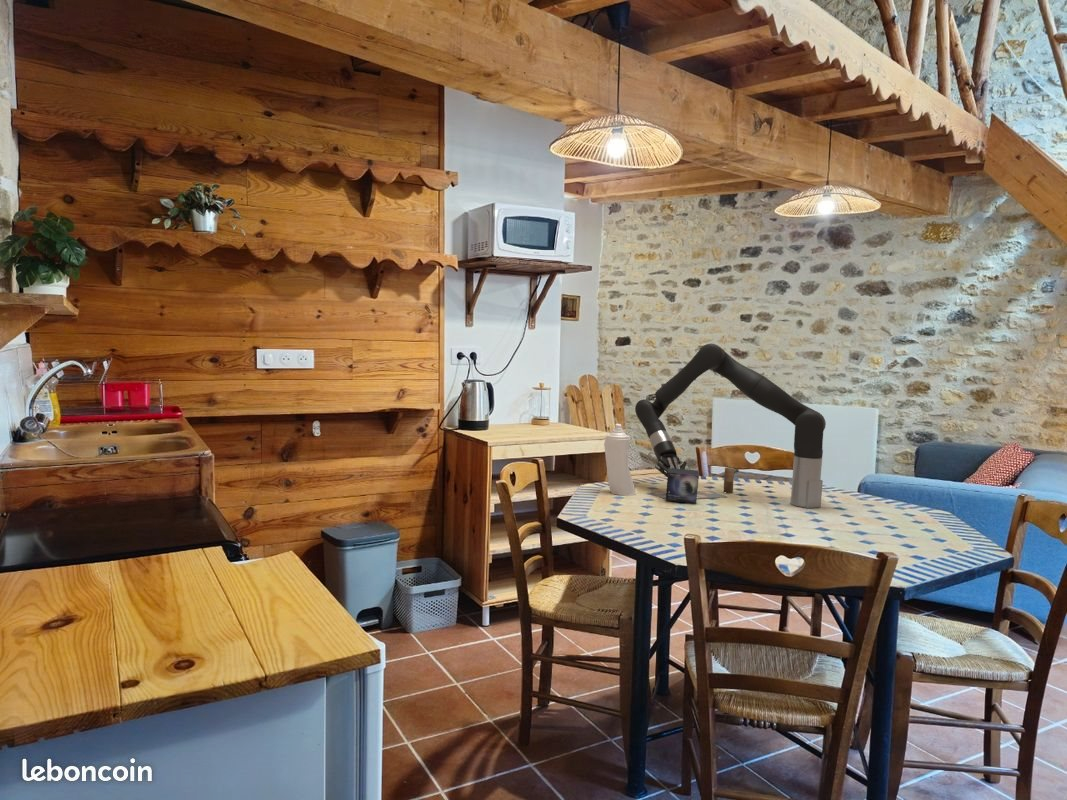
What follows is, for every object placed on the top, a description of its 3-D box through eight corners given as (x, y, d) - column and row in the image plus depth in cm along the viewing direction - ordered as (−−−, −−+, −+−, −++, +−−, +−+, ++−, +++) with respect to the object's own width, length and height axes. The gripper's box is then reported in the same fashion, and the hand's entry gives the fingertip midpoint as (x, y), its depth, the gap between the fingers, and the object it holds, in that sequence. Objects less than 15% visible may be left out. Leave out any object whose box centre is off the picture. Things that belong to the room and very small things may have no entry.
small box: (665, 501, 242) (667, 471, 240) (665, 495, 248) (667, 467, 247) (696, 504, 240) (699, 474, 238) (695, 498, 246) (698, 470, 245)
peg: (734, 493, 261) (736, 469, 260) (727, 493, 260) (728, 469, 259) (728, 491, 264) (730, 467, 264) (721, 491, 263) (723, 468, 262)
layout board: (727, 497, 253) (727, 496, 253) (669, 500, 243) (669, 500, 243) (710, 491, 262) (710, 490, 262) (653, 494, 253) (653, 493, 253)
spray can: (613, 496, 246) (617, 426, 244) (597, 490, 256) (600, 422, 254) (640, 494, 252) (644, 425, 250) (623, 488, 261) (627, 422, 259)
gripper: (651, 440, 252) (668, 480, 242) (682, 439, 257) (700, 478, 247) (642, 452, 258) (659, 492, 248) (673, 451, 263) (690, 490, 253)
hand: (679, 485), depth 247 cm, fingers closed
